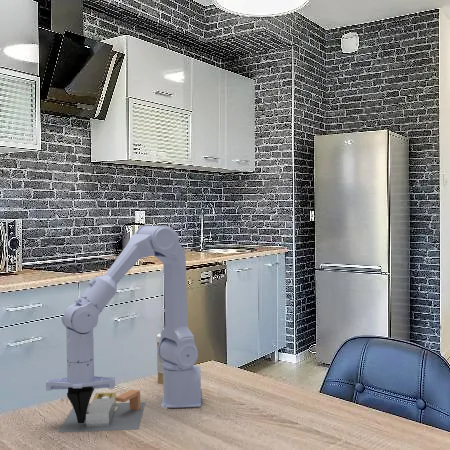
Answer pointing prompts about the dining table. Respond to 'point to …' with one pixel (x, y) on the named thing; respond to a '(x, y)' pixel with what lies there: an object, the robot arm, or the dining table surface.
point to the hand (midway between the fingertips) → (81, 421)
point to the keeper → (130, 398)
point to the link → (101, 410)
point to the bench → (120, 419)
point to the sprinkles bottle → (159, 363)
